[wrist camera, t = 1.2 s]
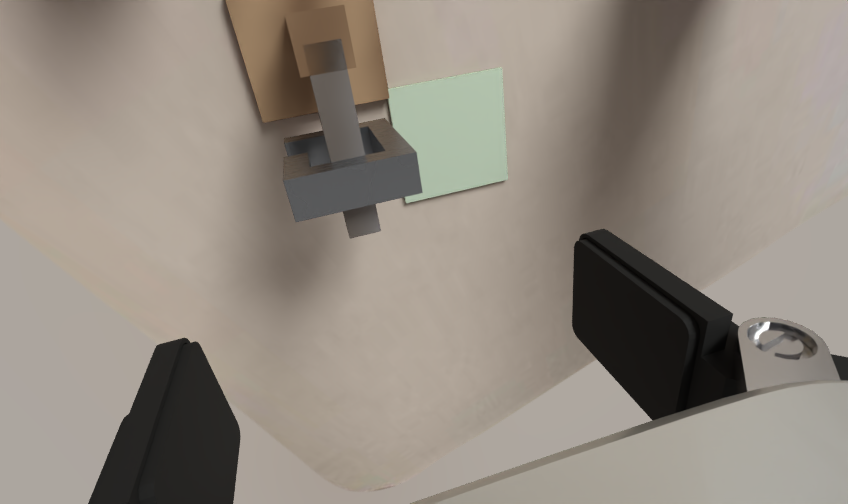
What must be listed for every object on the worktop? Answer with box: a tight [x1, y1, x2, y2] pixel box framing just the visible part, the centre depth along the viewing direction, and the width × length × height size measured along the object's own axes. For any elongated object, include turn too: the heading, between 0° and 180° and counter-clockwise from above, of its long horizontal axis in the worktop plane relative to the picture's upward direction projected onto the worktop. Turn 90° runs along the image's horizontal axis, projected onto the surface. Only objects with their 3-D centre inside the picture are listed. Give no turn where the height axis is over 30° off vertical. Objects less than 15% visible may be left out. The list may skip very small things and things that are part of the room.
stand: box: [225, 0, 389, 238], centre depth 26 cm, size 9×12×14 cm
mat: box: [388, 67, 508, 203], centre depth 36 cm, size 9×9×1 cm
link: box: [283, 118, 423, 222], centre depth 24 cm, size 6×2×8 cm, turn 99°
